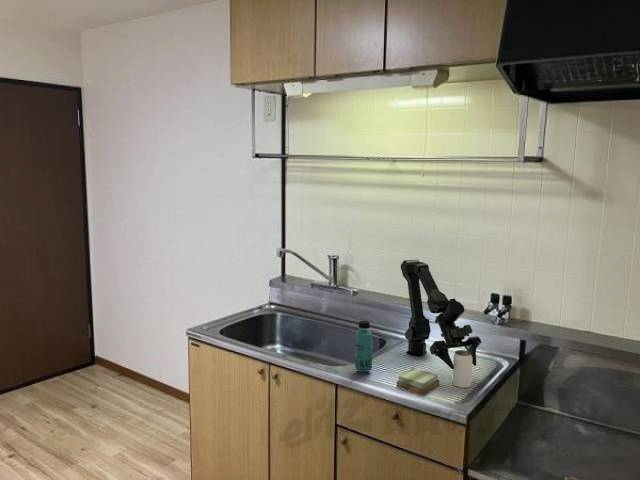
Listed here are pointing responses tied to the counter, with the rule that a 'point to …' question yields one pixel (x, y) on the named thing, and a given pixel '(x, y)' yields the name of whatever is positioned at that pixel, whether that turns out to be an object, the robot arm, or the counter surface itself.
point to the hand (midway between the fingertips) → (464, 367)
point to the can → (462, 369)
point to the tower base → (418, 390)
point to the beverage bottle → (363, 347)
